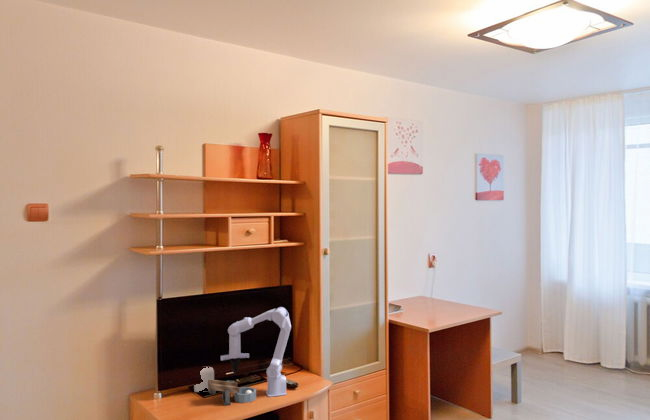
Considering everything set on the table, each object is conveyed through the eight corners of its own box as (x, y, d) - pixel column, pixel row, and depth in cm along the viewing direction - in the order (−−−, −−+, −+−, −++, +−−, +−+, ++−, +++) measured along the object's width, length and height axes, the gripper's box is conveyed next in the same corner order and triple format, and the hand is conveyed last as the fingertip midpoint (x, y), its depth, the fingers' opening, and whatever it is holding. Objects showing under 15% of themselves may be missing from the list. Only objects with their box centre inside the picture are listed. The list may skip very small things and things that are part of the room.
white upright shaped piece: (194, 393, 263) (194, 369, 263) (194, 390, 267) (194, 366, 267) (214, 391, 265) (214, 367, 265) (214, 388, 269) (214, 365, 269)
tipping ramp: (233, 386, 264) (235, 378, 264) (237, 397, 250) (239, 388, 250) (205, 383, 259) (207, 374, 260) (208, 393, 245) (210, 384, 245)
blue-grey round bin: (253, 393, 262) (253, 385, 262) (257, 401, 252) (257, 393, 252) (233, 396, 258) (233, 388, 258) (236, 403, 248) (236, 395, 248)
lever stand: (227, 396, 258) (227, 381, 258) (230, 405, 247) (230, 389, 247) (221, 397, 257) (221, 382, 257) (224, 405, 246) (224, 390, 246)
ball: (245, 388, 257) (243, 395, 256) (246, 390, 253) (244, 397, 253) (252, 389, 258) (250, 396, 258) (253, 392, 254) (251, 399, 254)
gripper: (247, 343, 271) (247, 368, 271) (219, 345, 266) (219, 371, 266) (249, 346, 264) (249, 372, 264) (221, 349, 259) (221, 375, 259)
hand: (235, 372), depth 265 cm, fingers closed
